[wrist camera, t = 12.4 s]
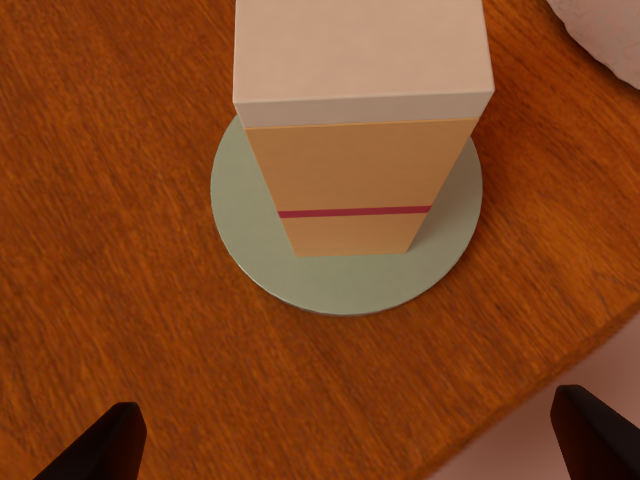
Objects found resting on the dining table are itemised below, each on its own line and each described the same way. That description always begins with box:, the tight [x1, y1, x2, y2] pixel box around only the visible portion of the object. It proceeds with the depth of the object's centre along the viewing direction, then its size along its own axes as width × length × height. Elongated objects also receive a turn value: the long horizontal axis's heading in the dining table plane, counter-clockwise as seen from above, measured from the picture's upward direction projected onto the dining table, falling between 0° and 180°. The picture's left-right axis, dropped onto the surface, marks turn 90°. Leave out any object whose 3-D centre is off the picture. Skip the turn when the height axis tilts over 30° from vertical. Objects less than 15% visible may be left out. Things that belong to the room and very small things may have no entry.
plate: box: [210, 114, 483, 317], centre depth 22 cm, size 13×13×1 cm
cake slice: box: [233, 0, 495, 257], centre depth 16 cm, size 7×5×13 cm
